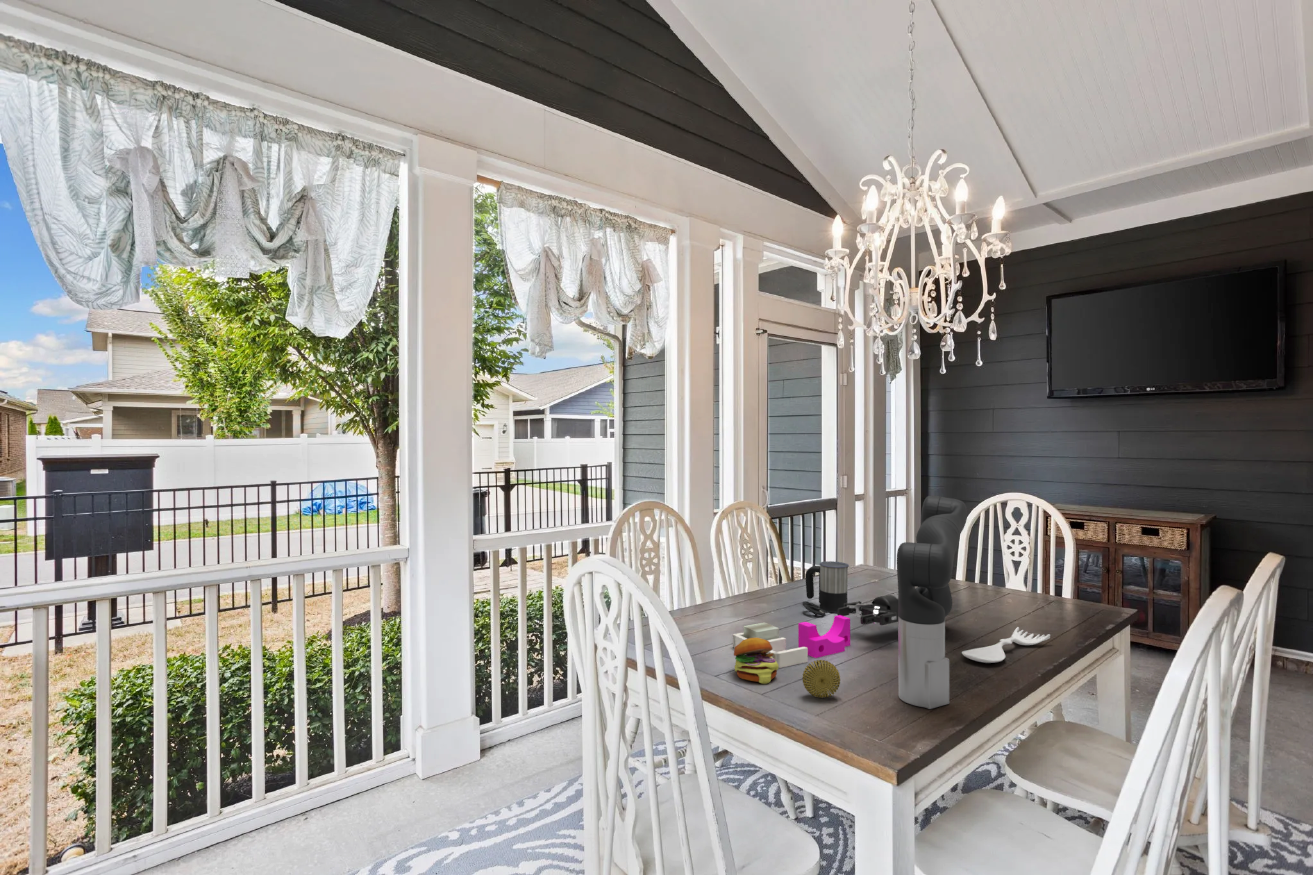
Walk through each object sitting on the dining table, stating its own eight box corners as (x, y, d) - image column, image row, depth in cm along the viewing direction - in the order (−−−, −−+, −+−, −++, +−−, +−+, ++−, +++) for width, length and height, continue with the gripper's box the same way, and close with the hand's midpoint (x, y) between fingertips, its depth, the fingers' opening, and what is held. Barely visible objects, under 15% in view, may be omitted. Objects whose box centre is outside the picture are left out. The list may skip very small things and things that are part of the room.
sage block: (779, 651, 171) (779, 628, 171) (757, 655, 168) (757, 632, 168) (764, 644, 177) (764, 622, 177) (743, 648, 173) (743, 626, 173)
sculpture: (837, 693, 143) (837, 657, 143) (842, 701, 139) (842, 663, 139) (800, 693, 143) (800, 656, 143) (804, 700, 139) (804, 663, 139)
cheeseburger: (746, 687, 146) (740, 640, 149) (728, 682, 156) (723, 638, 158) (786, 681, 149) (781, 636, 151) (766, 676, 159) (761, 634, 161)
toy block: (815, 658, 166) (815, 629, 166) (798, 651, 171) (798, 623, 171) (857, 648, 173) (857, 620, 173) (839, 642, 179) (839, 615, 178)
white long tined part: (1052, 645, 175) (1051, 633, 175) (990, 671, 156) (990, 657, 156) (1017, 637, 182) (1017, 625, 182) (954, 661, 164) (954, 647, 164)
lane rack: (807, 661, 163) (807, 647, 163) (775, 668, 158) (775, 654, 158) (763, 641, 179) (763, 628, 178) (732, 647, 174) (732, 634, 174)
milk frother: (848, 606, 214) (848, 561, 214) (849, 620, 199) (849, 571, 199) (804, 604, 218) (804, 559, 218) (801, 616, 203) (801, 569, 203)
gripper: (873, 589, 190) (830, 596, 182) (913, 600, 177) (869, 608, 169) (873, 615, 190) (831, 623, 182) (913, 628, 177) (869, 637, 170)
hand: (849, 616), depth 176 cm, fingers open, 8 cm apart
